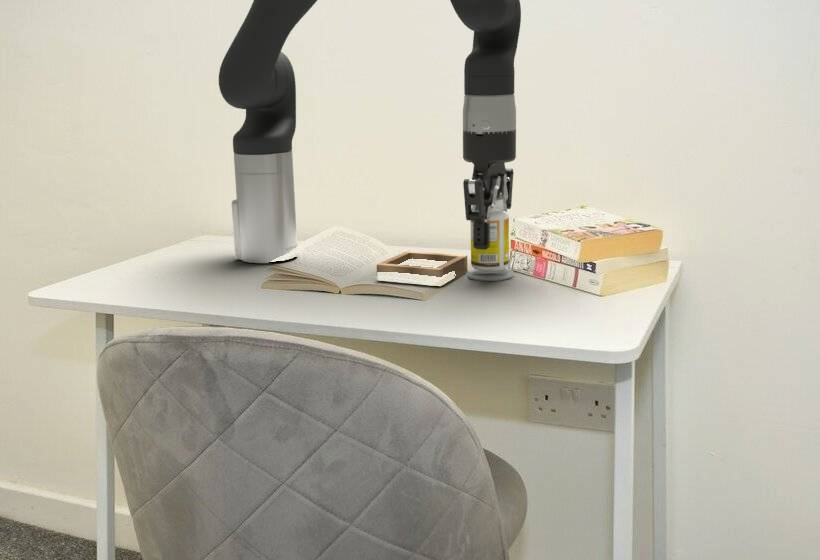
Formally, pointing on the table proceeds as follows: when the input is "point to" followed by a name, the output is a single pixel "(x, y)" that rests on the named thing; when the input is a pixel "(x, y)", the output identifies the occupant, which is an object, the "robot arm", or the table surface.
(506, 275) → the coaster
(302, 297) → the table surface
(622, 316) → the table surface
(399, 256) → the box frame
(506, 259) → the supplement bottle
